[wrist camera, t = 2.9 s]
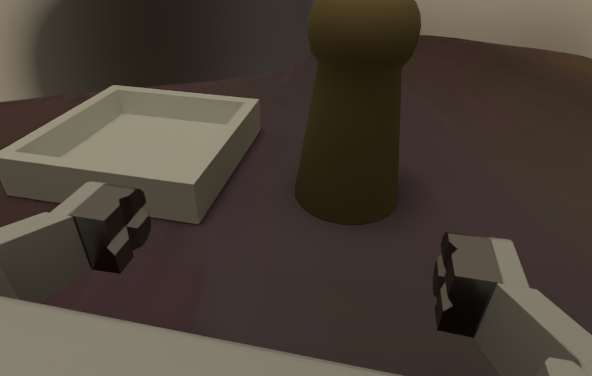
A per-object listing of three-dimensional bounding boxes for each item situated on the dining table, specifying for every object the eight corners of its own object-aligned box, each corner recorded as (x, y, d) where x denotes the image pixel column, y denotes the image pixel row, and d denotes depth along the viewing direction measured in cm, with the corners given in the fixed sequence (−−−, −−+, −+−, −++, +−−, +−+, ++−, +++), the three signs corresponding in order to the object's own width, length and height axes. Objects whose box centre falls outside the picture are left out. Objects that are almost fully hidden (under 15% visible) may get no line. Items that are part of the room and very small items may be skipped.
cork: (276, 205, 23) (274, -10, 17) (319, 158, 28) (330, -24, 22) (380, 237, 21) (421, 4, 15) (408, 181, 25) (448, -15, 19)
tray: (260, 130, 31) (259, 99, 30) (199, 224, 21) (193, 184, 20) (120, 115, 33) (113, 85, 31) (7, 195, 23) (-10, 156, 22)
